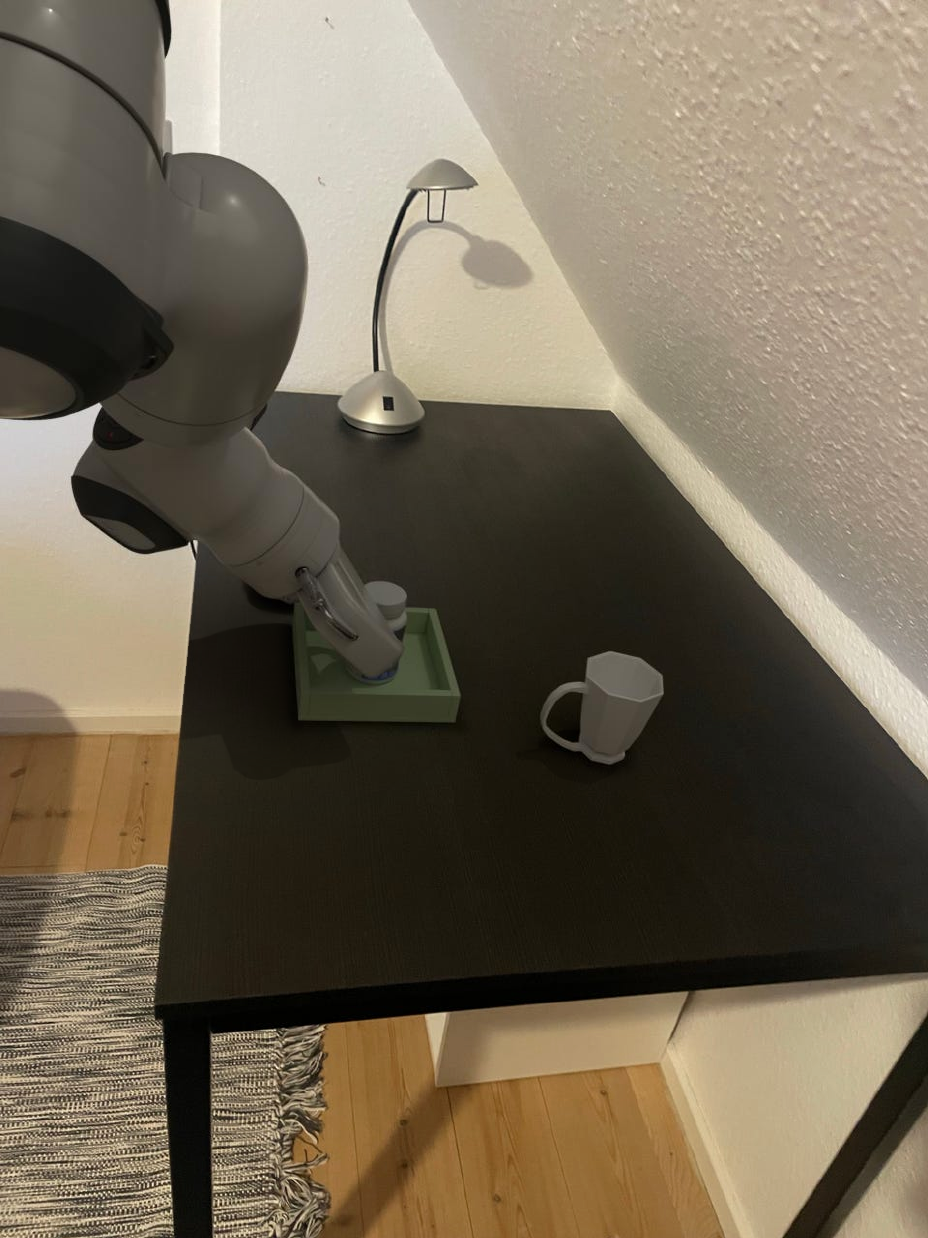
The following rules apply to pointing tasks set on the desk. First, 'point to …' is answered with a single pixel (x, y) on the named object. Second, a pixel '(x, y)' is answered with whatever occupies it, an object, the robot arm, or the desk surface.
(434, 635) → the sage tray
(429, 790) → the desk surface
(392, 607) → the pill bottle
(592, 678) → the cup
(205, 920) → the desk surface
